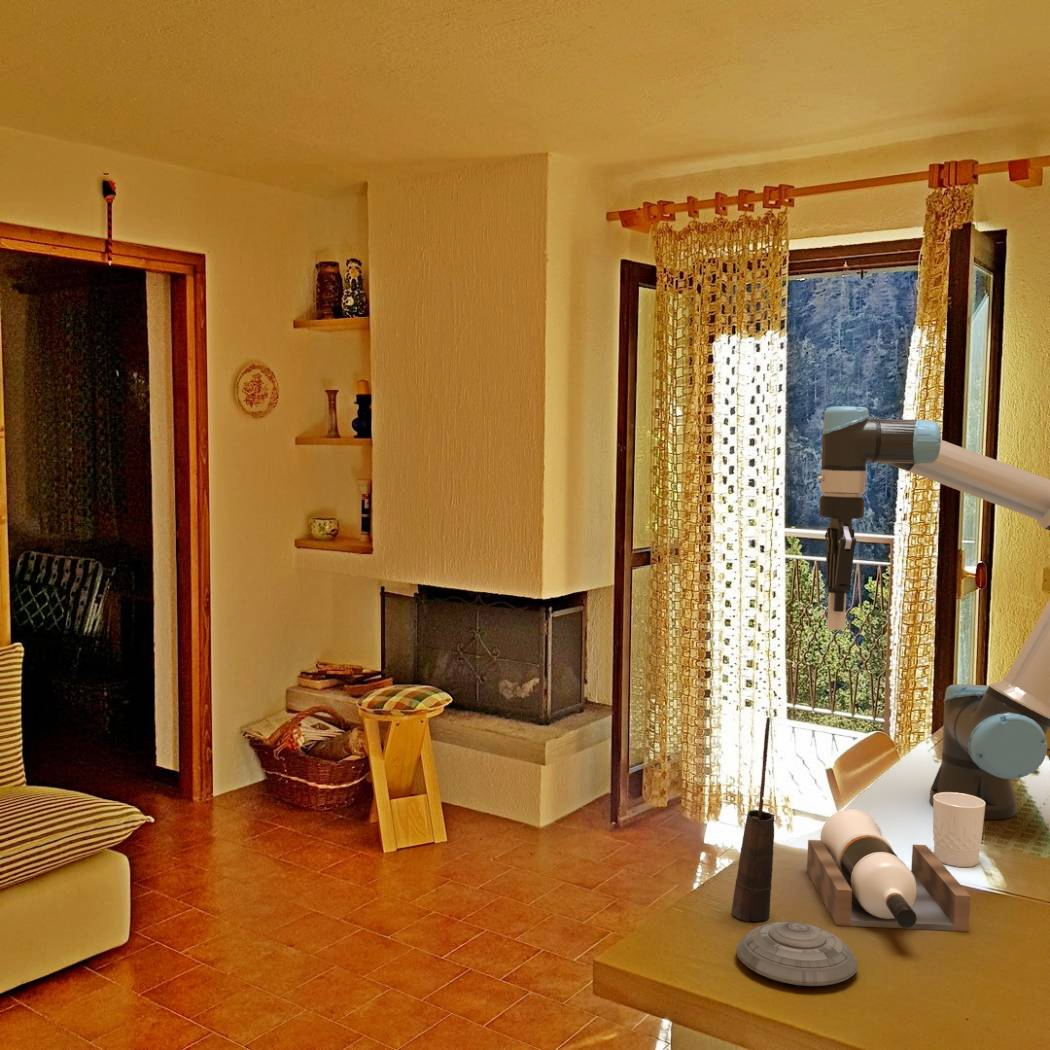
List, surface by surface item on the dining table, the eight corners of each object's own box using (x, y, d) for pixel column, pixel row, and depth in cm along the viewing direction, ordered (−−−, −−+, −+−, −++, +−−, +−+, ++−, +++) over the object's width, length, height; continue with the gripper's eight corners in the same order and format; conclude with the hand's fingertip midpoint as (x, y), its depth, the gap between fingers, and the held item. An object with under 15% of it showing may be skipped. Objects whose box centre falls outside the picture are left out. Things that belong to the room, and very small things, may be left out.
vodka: (834, 797, 174) (890, 873, 144) (888, 821, 174) (956, 902, 144) (809, 849, 175) (859, 936, 145) (862, 873, 175) (924, 965, 145)
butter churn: (761, 939, 149) (770, 732, 147) (702, 917, 155) (710, 719, 154) (797, 919, 155) (806, 721, 154) (738, 899, 162) (746, 709, 160)
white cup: (983, 872, 176) (986, 809, 175) (929, 864, 178) (933, 803, 178) (981, 855, 183) (984, 795, 182) (930, 848, 186) (933, 789, 185)
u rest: (806, 871, 174) (808, 839, 174) (924, 876, 173) (925, 845, 173) (835, 925, 154) (837, 889, 154) (968, 931, 153) (970, 896, 153)
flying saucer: (882, 988, 137) (884, 944, 136) (772, 1002, 132) (774, 957, 132) (816, 936, 151) (818, 897, 150) (715, 947, 147) (717, 907, 146)
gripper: (812, 493, 202) (807, 622, 203) (828, 496, 189) (822, 634, 190) (854, 494, 201) (848, 624, 203) (873, 497, 188) (866, 636, 190)
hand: (835, 629), depth 196 cm, fingers closed
